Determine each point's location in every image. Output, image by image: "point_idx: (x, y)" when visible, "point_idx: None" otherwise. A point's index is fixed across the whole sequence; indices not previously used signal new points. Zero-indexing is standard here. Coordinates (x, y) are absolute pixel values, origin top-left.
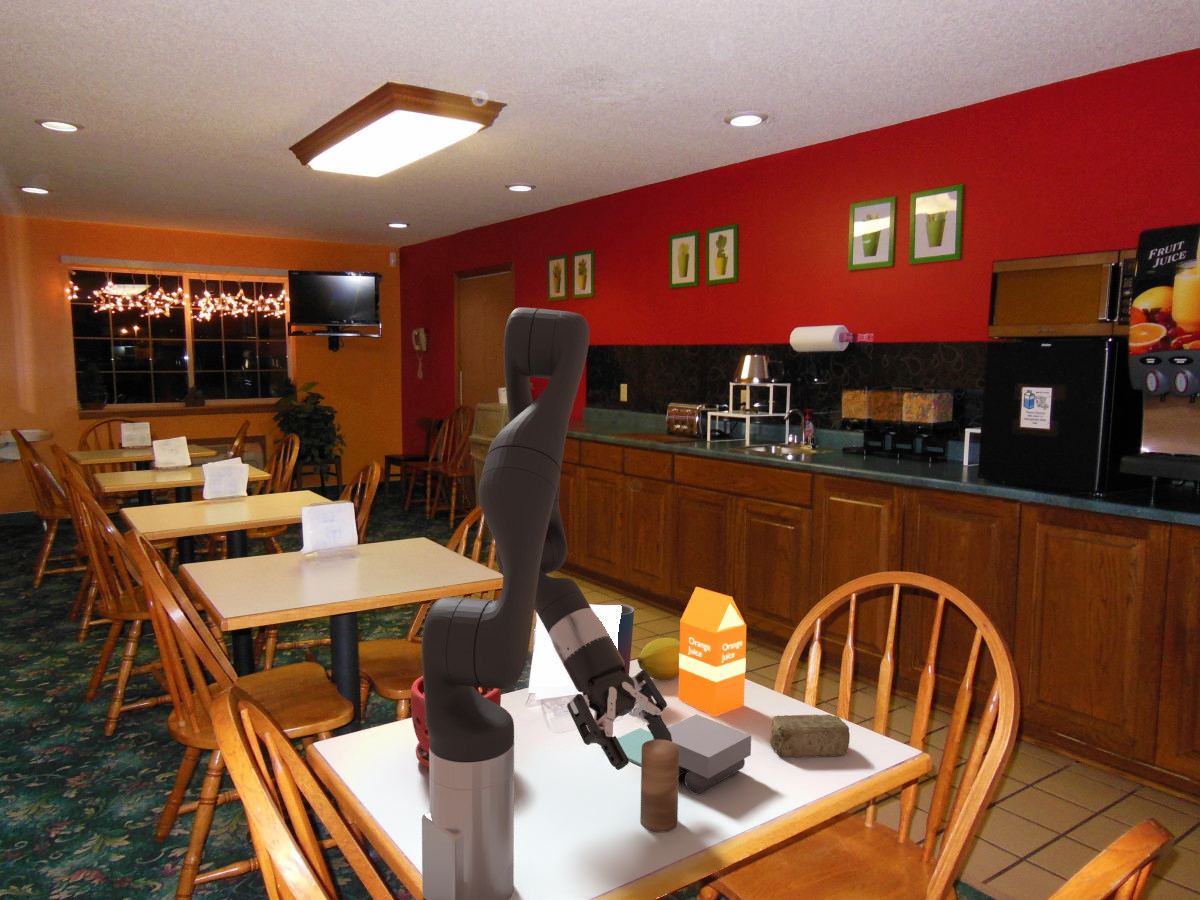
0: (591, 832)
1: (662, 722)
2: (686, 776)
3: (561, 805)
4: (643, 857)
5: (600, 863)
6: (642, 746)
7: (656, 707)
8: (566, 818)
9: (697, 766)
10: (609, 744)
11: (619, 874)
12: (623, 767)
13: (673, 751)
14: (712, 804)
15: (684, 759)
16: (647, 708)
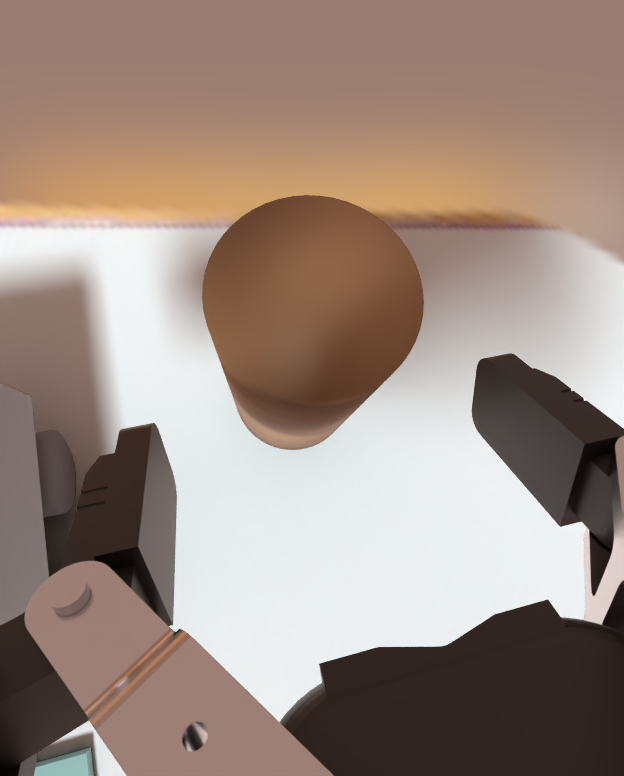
0: (496, 453)
1: (84, 537)
2: (56, 507)
3: None
4: (429, 282)
5: (538, 320)
6: (397, 361)
7: (44, 635)
8: (530, 563)
9: (21, 446)
10: (615, 426)
11: (516, 261)
12: (474, 402)
13: (279, 220)
14: (77, 381)
15: (24, 521)
16: (166, 627)
